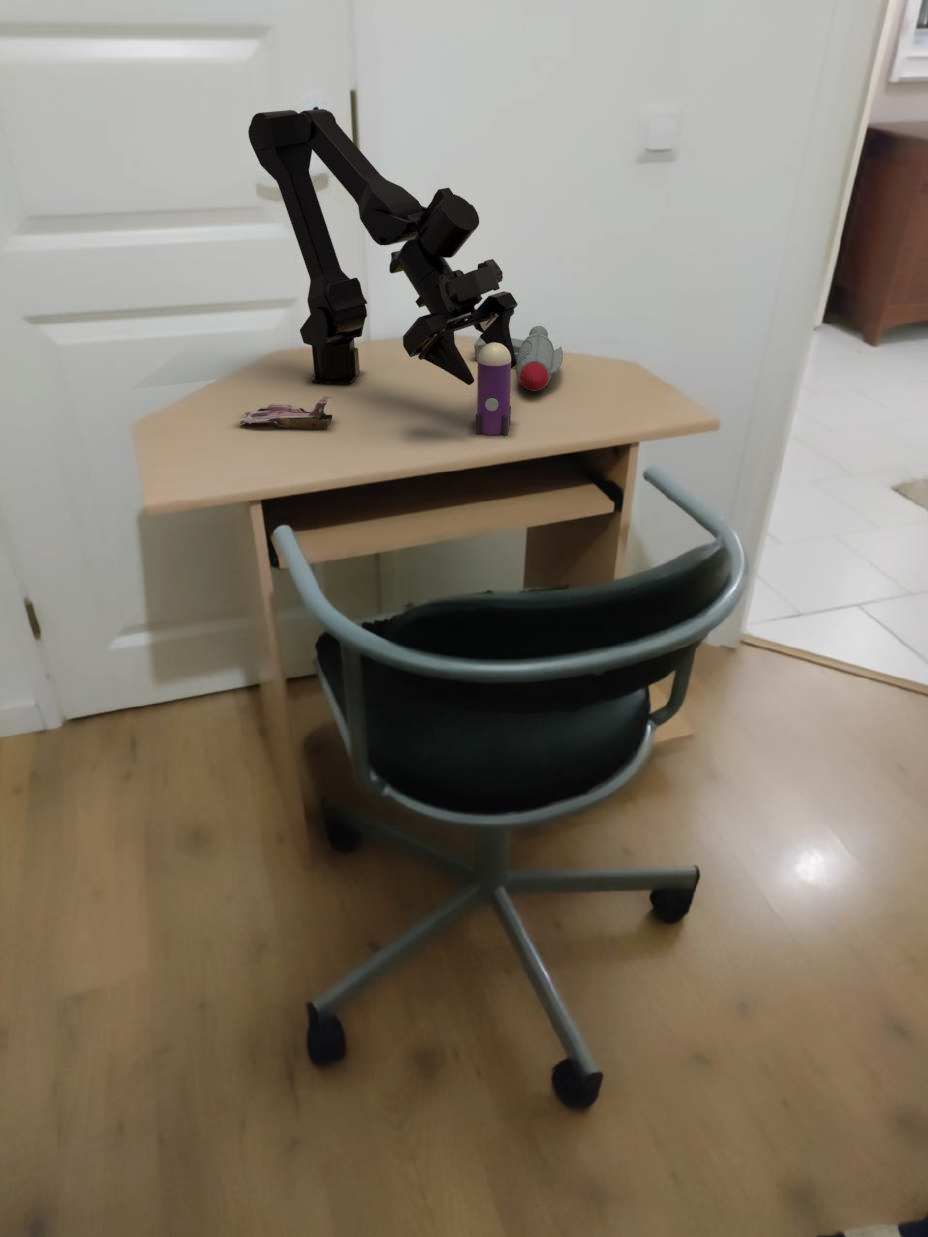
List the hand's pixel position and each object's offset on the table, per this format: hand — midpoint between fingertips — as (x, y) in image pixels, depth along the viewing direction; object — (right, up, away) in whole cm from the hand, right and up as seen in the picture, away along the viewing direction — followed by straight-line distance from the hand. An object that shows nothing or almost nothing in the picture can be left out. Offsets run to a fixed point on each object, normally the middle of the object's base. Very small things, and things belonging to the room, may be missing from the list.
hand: (493, 374), depth 125 cm
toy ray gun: (+5, +6, +24) cm, 25 cm away
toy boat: (-30, -6, +6) cm, 31 cm away
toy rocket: (0, -7, +4) cm, 8 cm away
